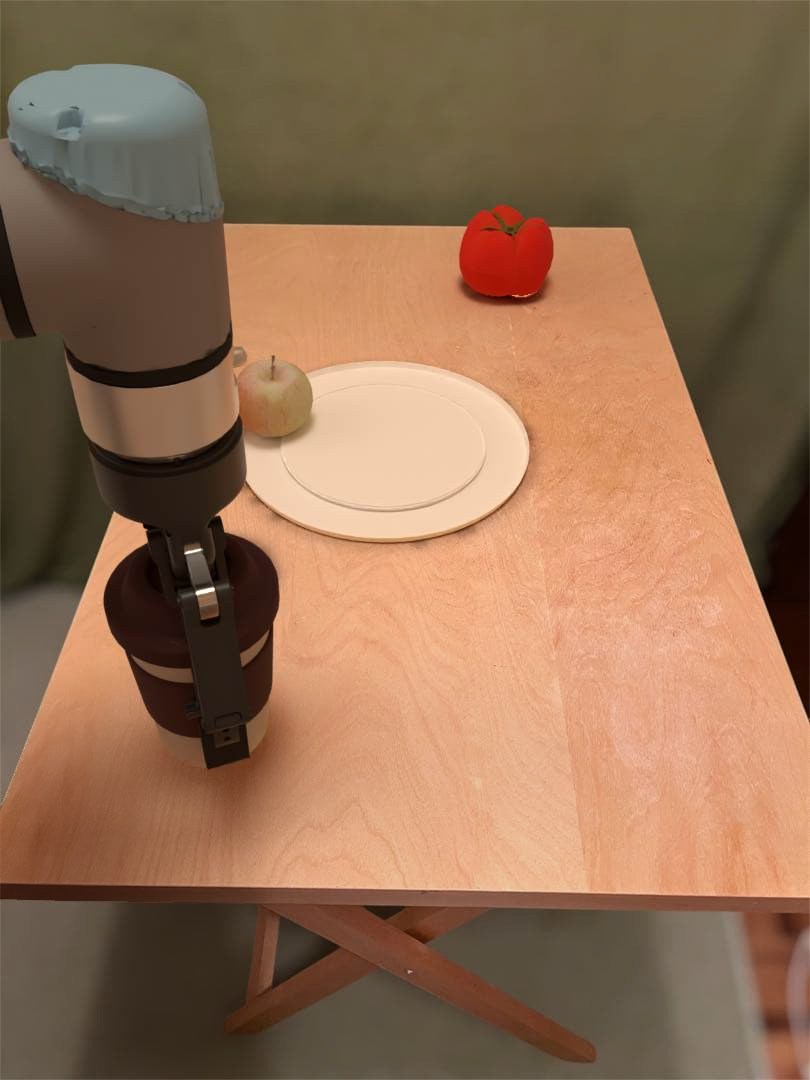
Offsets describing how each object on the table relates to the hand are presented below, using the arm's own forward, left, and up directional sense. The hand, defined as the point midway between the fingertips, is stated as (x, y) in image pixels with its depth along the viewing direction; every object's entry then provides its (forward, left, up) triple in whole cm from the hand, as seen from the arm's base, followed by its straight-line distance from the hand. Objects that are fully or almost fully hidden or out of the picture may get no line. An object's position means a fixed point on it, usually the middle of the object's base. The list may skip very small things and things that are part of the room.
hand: (211, 704), depth 60 cm
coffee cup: (0, 0, -2) cm, 2 cm away
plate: (+22, +28, -5) cm, 36 cm away
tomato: (+47, +53, -5) cm, 71 cm away
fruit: (+13, +34, -4) cm, 37 cm away
